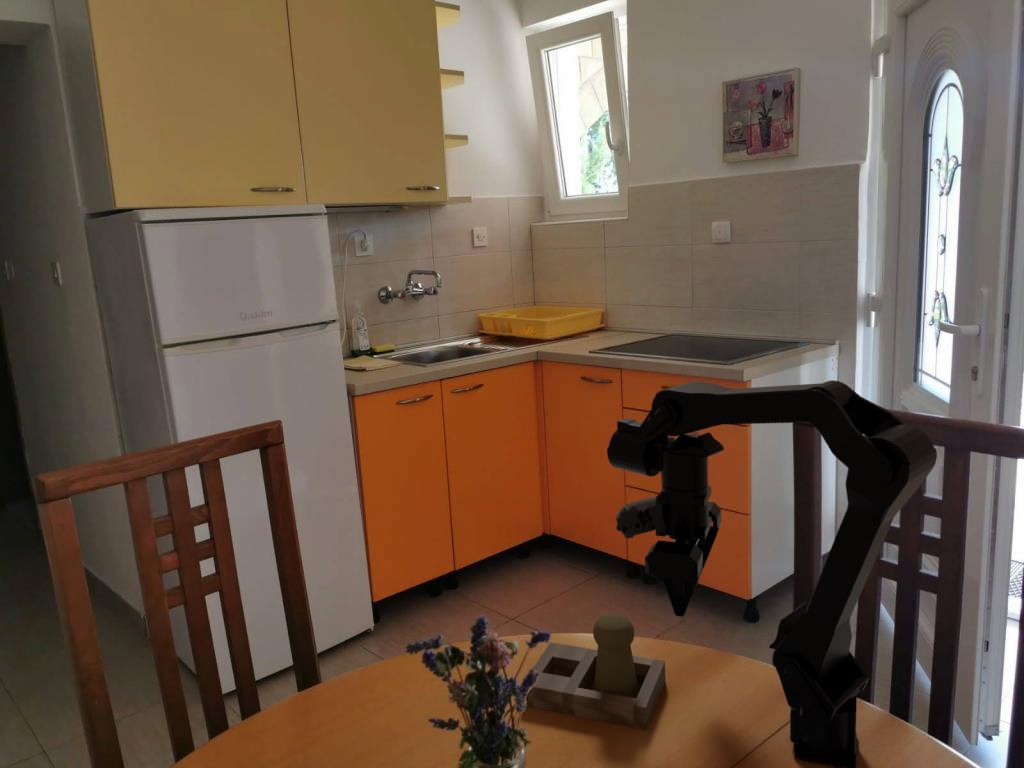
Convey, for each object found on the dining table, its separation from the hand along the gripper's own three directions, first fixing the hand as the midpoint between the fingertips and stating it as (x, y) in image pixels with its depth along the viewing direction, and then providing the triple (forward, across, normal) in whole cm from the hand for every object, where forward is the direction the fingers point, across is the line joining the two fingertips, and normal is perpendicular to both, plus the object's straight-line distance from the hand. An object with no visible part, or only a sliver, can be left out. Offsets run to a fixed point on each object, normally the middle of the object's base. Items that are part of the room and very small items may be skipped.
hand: (686, 598), depth 101 cm
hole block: (+12, +6, -11) cm, 17 cm away
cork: (+12, +6, -8) cm, 16 cm away
